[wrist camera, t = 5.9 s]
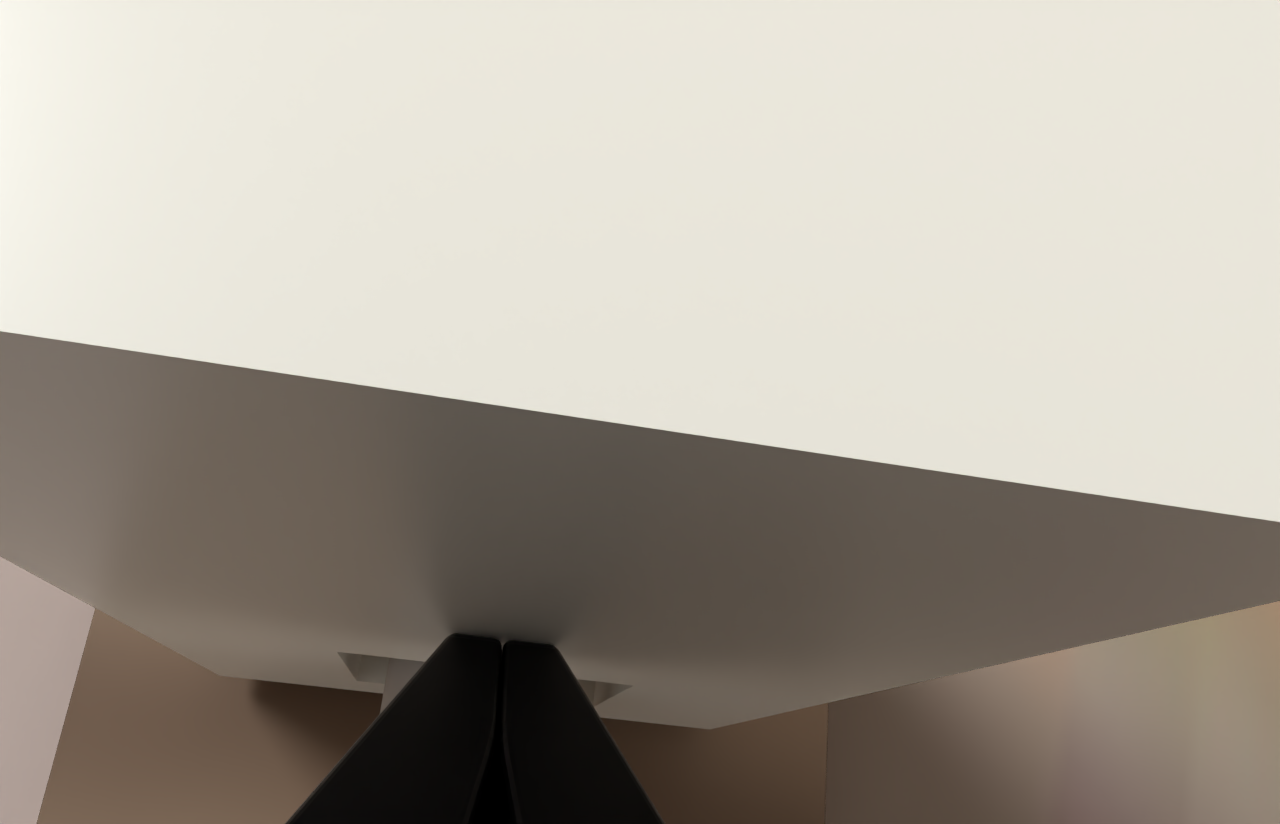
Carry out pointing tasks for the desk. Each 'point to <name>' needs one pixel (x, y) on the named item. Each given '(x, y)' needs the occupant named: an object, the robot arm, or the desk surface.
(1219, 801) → the desk surface
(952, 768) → the desk surface
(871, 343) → the white upright block
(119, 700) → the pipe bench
